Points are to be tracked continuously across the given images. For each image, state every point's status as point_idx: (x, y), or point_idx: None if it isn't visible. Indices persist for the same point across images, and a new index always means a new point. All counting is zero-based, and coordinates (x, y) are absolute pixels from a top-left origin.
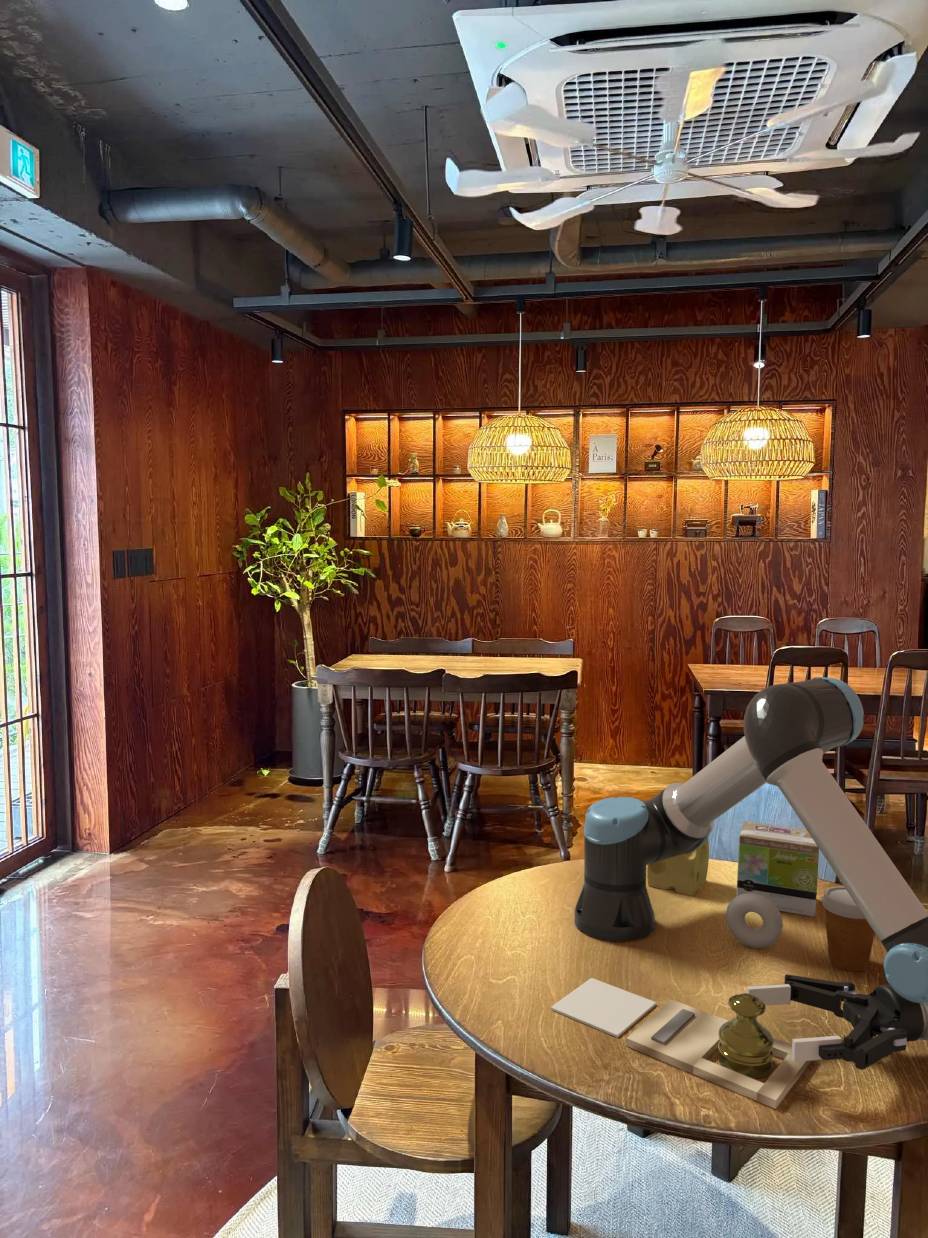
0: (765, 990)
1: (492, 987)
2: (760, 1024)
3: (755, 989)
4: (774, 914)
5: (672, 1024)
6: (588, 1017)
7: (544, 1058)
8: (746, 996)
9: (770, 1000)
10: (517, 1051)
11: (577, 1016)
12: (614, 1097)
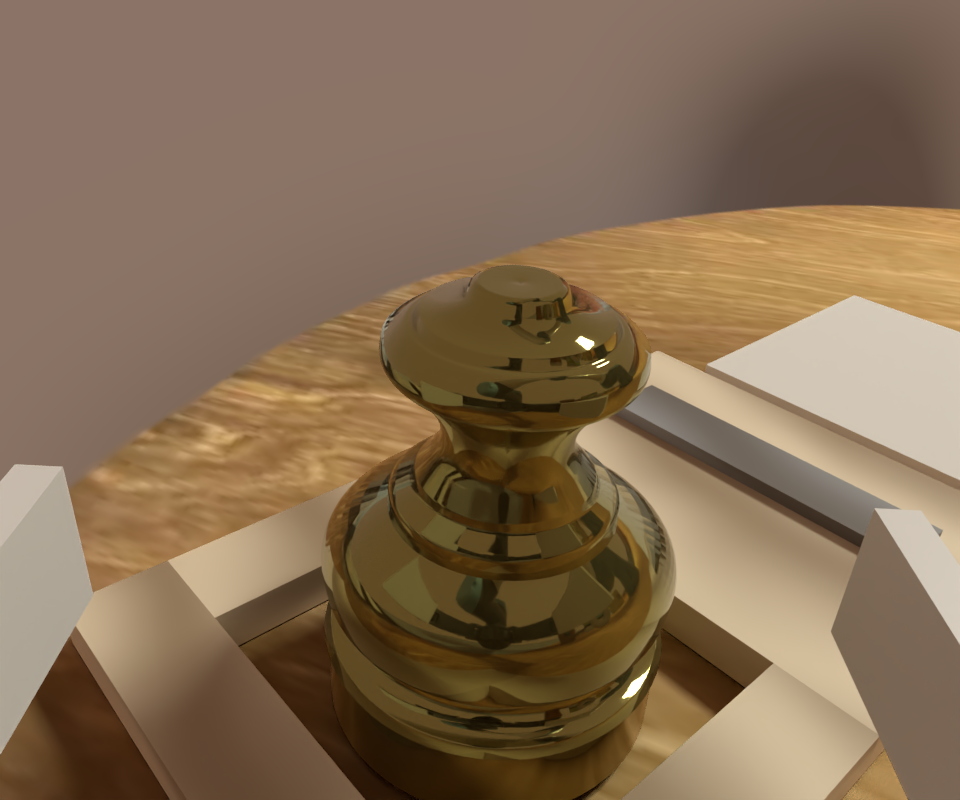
0: (944, 645)
1: (942, 254)
2: (495, 539)
3: (897, 549)
4: None
5: (764, 457)
6: (814, 338)
7: (587, 262)
8: (519, 278)
9: (929, 772)
10: (620, 241)
11: (814, 322)
12: (383, 310)
